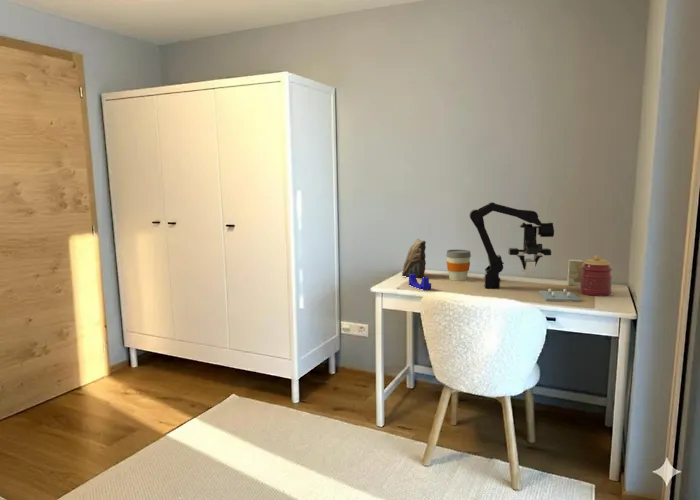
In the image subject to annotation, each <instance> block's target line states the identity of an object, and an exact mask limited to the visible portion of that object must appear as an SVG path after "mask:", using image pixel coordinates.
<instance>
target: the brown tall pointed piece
mask: <svg viewBox="0 0 700 500" xmlns="http://www.w3.org/2000/svg"><path fill="white" fill-rule="evenodd" d="M426 243H427V242H426V240H420V239H419V238H417V239H415V241H413V243H412V245H411V246H410V247H409V250H408V252H407V255H406V258H405V261H404V263H403V268H402V272H401V277H402V276H406V277H409V274H416V278H423V277H425V272H426V265H427V262H426ZM406 277H405V278H406Z"/></svg>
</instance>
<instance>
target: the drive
mask: <svg viewBox="0 0 700 500" xmlns="http://www.w3.org/2000/svg"><path fill="white" fill-rule="evenodd" d="M524 260H525V270H524V269H523V268H522V272H523V273H524V274H525V275H536V267H535V261H534V258H524Z"/></svg>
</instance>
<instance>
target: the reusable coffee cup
mask: <svg viewBox="0 0 700 500" xmlns="http://www.w3.org/2000/svg"><path fill="white" fill-rule="evenodd" d="M445 256H446V267H447V269H446V270H447V272H448V278H449V280H450V281H455V282H463V281H467V280H468V273H469V271H470V267H471V266H470V265H471V261H470V260H471V256H472V255H471V251H470V250H467V249H448V250H446V254H445Z"/></svg>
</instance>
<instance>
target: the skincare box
mask: <svg viewBox="0 0 700 500" xmlns="http://www.w3.org/2000/svg"><path fill="white" fill-rule="evenodd" d="M583 262H584V260H582V259H568V269H567V280H566V285H568V286H579V287H580V282H581V275H580V274H581V273H582V268H581V266H583V265H584V263H583Z"/></svg>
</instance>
